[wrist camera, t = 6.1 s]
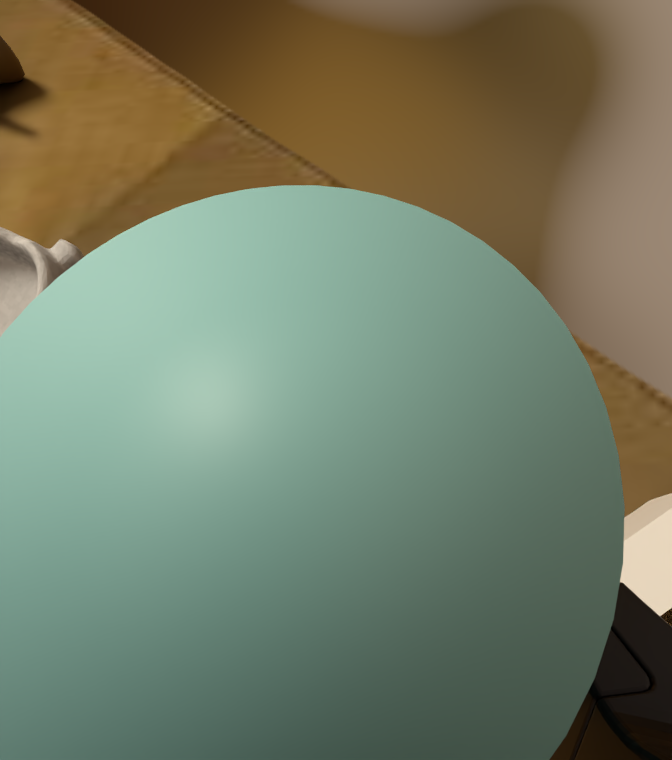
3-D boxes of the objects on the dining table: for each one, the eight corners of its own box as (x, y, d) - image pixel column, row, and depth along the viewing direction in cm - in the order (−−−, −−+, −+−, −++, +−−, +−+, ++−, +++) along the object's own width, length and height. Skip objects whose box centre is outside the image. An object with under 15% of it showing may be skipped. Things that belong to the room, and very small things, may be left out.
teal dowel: (465, 590, 14) (831, 626, 2) (337, 662, 14) (-61, 1181, 2) (394, 464, 16) (381, 112, 4) (279, 525, 15) (-107, 335, 4)
